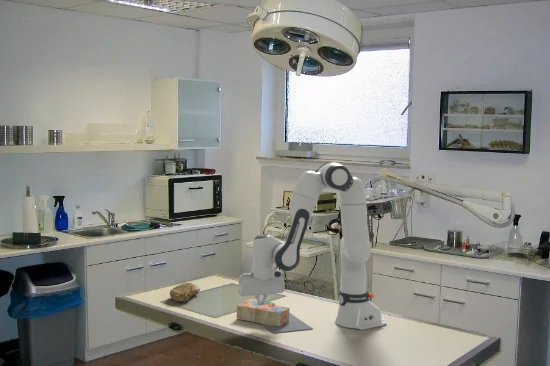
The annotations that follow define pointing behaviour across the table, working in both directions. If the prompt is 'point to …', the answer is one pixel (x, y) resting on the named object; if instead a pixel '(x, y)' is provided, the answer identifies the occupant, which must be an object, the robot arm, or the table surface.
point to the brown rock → (184, 292)
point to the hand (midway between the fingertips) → (261, 304)
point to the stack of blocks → (263, 313)
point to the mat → (289, 326)
